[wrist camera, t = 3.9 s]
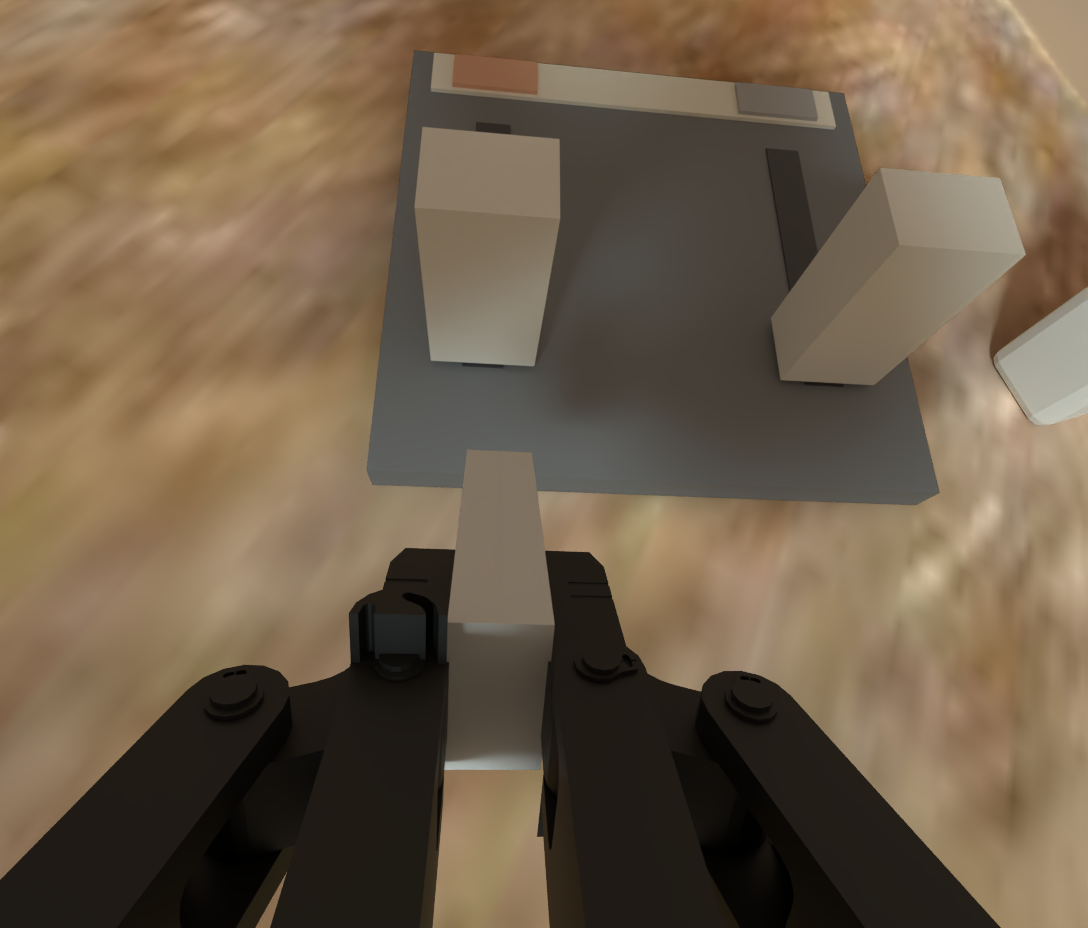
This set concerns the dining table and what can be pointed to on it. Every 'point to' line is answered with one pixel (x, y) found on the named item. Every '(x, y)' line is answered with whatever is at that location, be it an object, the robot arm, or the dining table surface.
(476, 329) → the tab
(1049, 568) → the dining table surface
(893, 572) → the dining table surface
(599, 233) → the switch panel
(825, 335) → the tab
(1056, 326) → the pepper shaker
